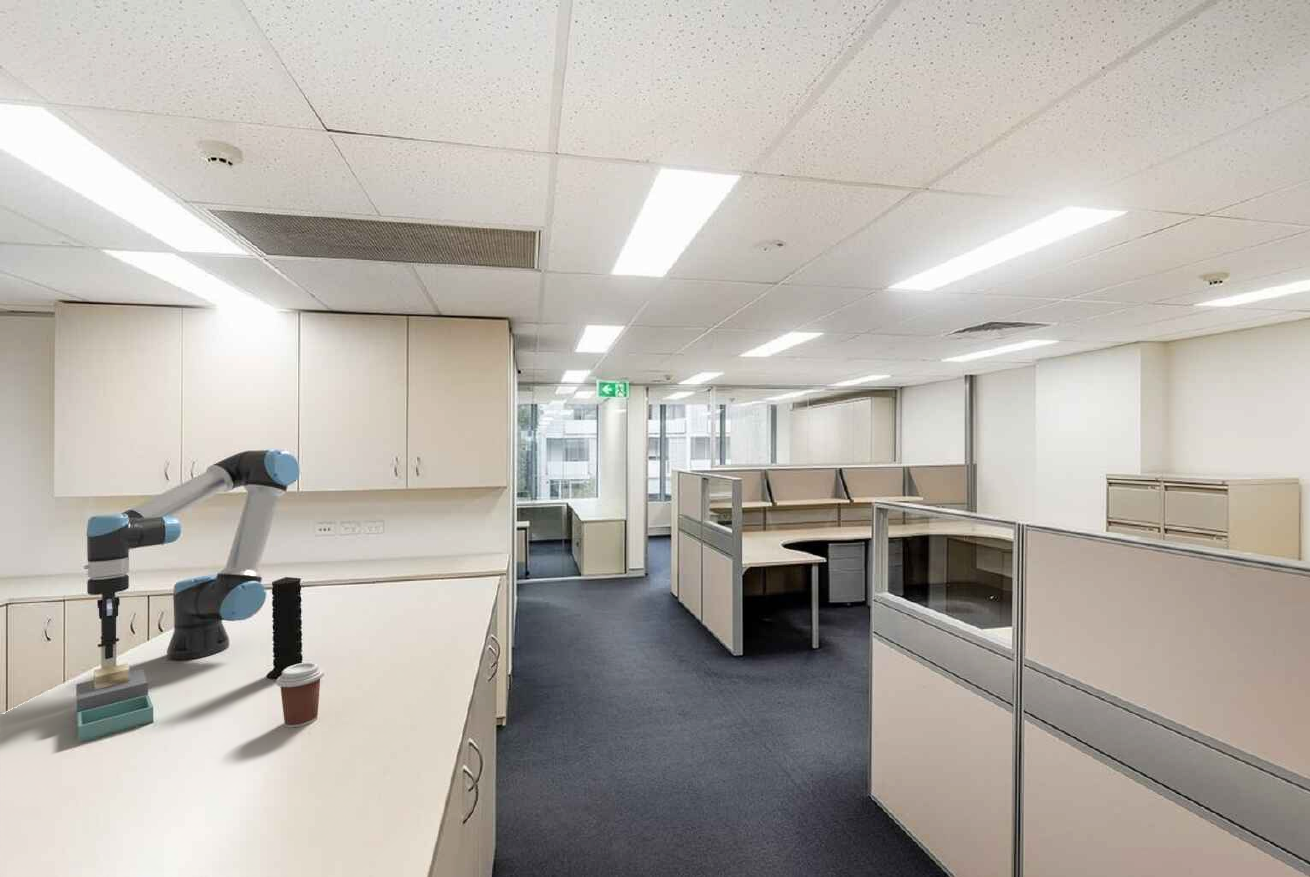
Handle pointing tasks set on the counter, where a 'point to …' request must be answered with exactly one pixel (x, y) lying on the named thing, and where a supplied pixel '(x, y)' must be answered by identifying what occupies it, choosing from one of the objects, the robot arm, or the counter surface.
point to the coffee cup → (300, 693)
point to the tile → (111, 676)
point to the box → (114, 718)
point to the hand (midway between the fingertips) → (108, 670)
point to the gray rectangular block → (110, 692)
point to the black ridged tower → (286, 625)
